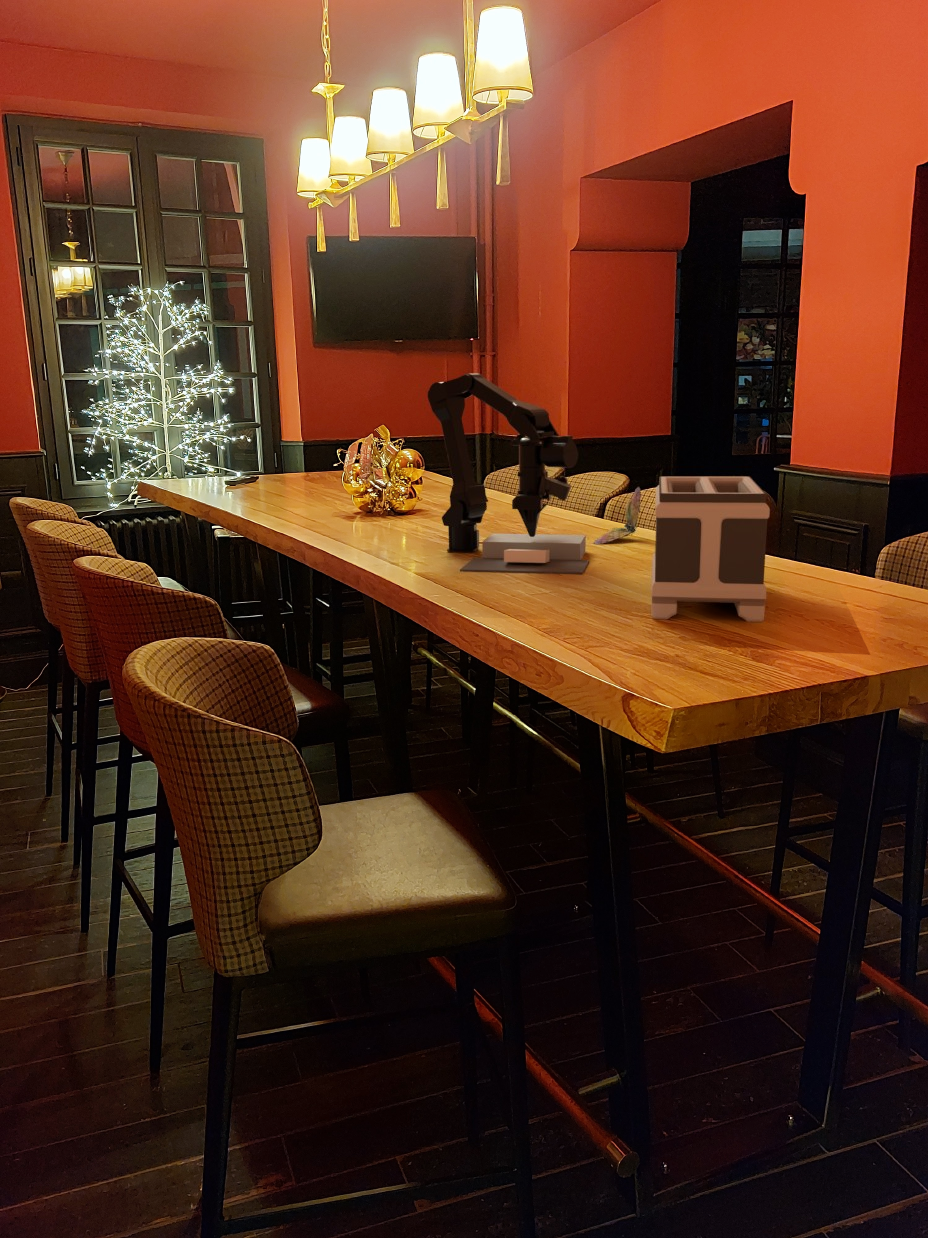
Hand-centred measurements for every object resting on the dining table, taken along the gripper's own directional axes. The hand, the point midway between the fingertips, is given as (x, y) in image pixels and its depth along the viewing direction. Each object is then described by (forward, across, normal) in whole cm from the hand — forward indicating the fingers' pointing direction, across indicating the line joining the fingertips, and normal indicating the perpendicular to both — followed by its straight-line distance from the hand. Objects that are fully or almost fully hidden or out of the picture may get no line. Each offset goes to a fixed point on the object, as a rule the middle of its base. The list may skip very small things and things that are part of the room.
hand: (532, 536), depth 214 cm
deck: (+5, +4, 0) cm, 7 cm away
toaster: (+6, -36, -36) cm, 51 cm away
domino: (+2, -8, 0) cm, 8 cm away
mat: (+5, -9, 0) cm, 10 cm away
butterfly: (+6, +27, -17) cm, 33 cm away
